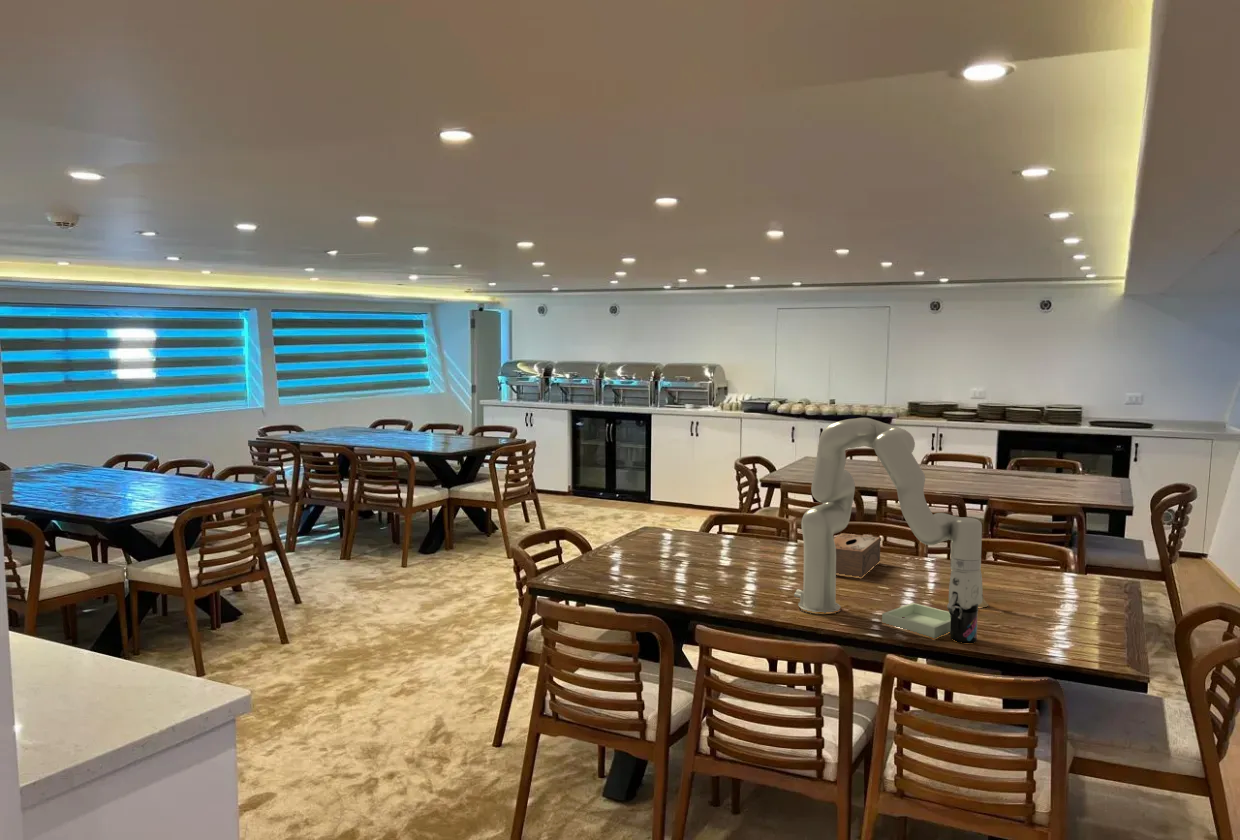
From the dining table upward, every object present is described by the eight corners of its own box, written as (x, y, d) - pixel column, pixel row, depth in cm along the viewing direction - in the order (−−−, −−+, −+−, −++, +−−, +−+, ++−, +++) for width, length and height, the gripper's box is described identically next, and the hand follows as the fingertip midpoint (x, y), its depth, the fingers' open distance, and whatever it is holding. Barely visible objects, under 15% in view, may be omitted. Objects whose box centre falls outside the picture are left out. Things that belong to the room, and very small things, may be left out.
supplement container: (958, 645, 216) (959, 607, 215) (944, 636, 222) (945, 599, 222) (982, 644, 217) (983, 605, 216) (967, 635, 223) (968, 598, 223)
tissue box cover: (861, 580, 280) (862, 551, 279) (820, 574, 287) (820, 546, 287) (879, 563, 302) (880, 537, 301) (841, 559, 309) (841, 533, 309)
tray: (882, 625, 232) (882, 613, 232) (912, 614, 242) (912, 602, 242) (934, 640, 220) (934, 627, 219) (964, 627, 230) (964, 615, 229)
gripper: (962, 572, 209) (960, 640, 211) (994, 561, 220) (992, 625, 222) (935, 566, 215) (933, 632, 217) (968, 556, 226) (966, 619, 228)
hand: (963, 628), depth 219 cm, fingers closed on supplement container, 6 cm apart
